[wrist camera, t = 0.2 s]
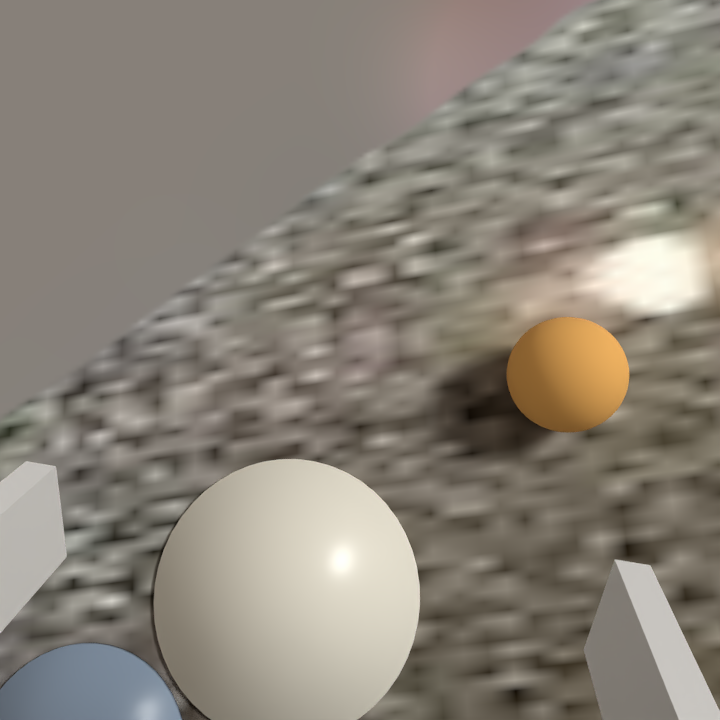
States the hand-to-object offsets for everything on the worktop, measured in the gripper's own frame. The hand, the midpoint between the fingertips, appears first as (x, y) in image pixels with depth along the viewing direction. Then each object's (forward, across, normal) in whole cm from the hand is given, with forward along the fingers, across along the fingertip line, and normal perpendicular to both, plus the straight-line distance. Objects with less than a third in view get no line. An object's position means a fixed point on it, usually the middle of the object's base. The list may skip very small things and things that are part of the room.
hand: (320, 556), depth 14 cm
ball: (+16, -9, +1) cm, 18 cm away
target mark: (+11, +3, +12) cm, 16 cm away
